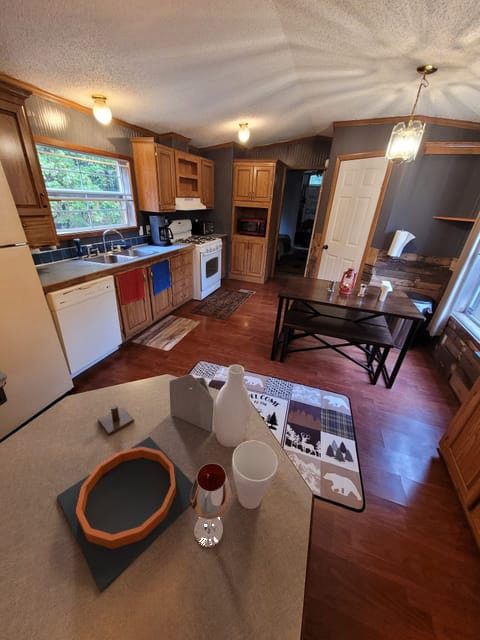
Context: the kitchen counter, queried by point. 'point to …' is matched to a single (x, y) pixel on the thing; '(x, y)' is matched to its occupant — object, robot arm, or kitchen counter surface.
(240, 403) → the bottle
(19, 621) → the kitchen counter surface
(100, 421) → the peg
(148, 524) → the hoop
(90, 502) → the mat
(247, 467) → the cup
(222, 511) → the wineglass
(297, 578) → the kitchen counter surface
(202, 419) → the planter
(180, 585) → the kitchen counter surface
